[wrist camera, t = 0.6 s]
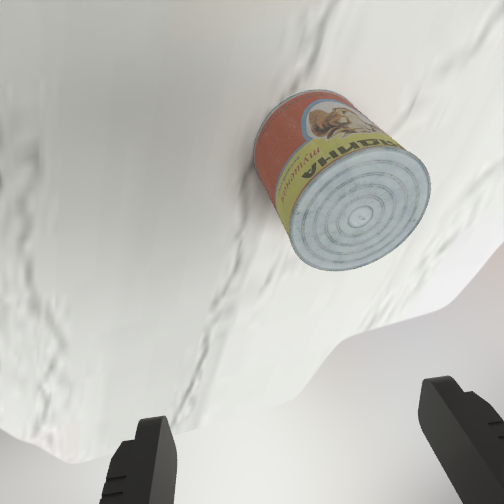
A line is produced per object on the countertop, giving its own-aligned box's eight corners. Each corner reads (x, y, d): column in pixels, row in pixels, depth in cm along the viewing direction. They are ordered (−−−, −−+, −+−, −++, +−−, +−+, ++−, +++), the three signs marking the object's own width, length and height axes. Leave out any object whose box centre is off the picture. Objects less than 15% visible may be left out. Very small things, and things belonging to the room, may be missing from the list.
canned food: (371, 84, 34) (453, 139, 25) (350, 189, 41) (407, 260, 33) (252, 94, 32) (295, 157, 23) (253, 202, 39) (285, 281, 31)
